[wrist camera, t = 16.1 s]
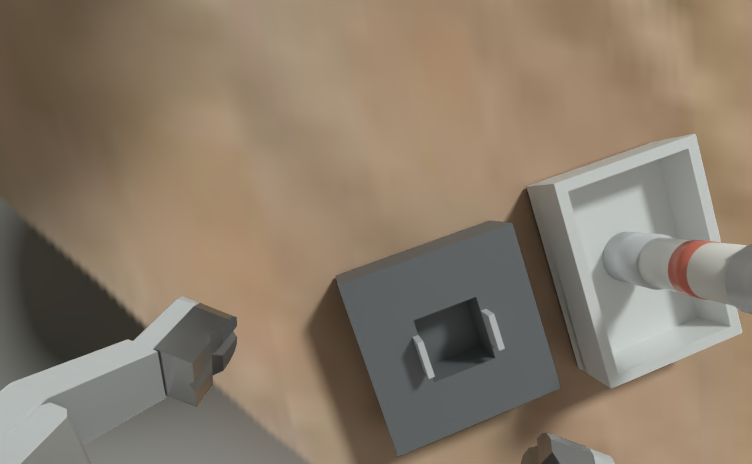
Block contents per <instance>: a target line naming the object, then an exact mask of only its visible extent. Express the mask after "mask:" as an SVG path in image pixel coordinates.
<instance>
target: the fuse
mask: <svg viewBox="0 0 752 464" xmlns="http://www.w3.org/2000/svg"><path fill="white" fill-rule="evenodd" d="M603 264H604V267H605V270H606V271H607V273H608V274H609V275H610V276H611V277H612V278H614V279H616V280H618V281H622V282H626V283H630V284H634V285H638V286H642V287H646V288H650V289H654V290H661V289H666V290H670V291H674V292H678V293H681V294H683V295H687V296H691V297H695V298H699V299H703V300H711V301H715V302H719V303H723V304H728V305H732V306H735V307H736V308H737V309H739V310H740V311H742V312H745V313H749V314H752V244H750V245H737V244H726V243H720V242H714V241H703V240H684V239H674V238H672V237H670V236H668V235H663V234H651V233H639V232H621V233H618V234H616V235H615V236H613V237H612V238H611V239H610V240H609V241H608V243H607V244H606V246H605V249H604V252H603Z"/></svg>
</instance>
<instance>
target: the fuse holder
mask: <svg viewBox="0 0 752 464" xmlns="http://www.w3.org/2000/svg"><path fill="white" fill-rule="evenodd" d="M336 280H337V285H338V288H339V291H340V294H341V297H342V299H343V302H344V305H345V308H346V311H347V314H348V316H349V319H350V322H351V325H352V328H353V331H354V333H355V336H356V339H357V342H358V345H359V348H360V350H361V353H362V356H363V359H364V362H365V365H366V367H367V370H368V373H369V376H370V379H371V382H372V384H373V387H374V390H375V393H376V396H377V399H378V401H379V404H380V407H381V410H382V413H383V416H384V418H385V421H386V424H387V427H388V430H389V433H390V435H391V438H392V441H393V444H394V447H395V450H396V452H397V455H398V457H399V456H401V455H403V454H406V453H408V452H411V451H413V450H415V449H418V448H420V447H422V446H425V445H427V444H430V443H432V442H434V441H437V440H439V439H441V438H444V437H446V436H449V435H451V434H453V433H456V432H458V431H460V430H463V429H465V428H468V427H470V426H472V425H475V424H477V423H480V422H482V421H484V420H487V419H489V418H491V417H494V416H496V415H499V414H501V413H503V412H506V411H508V410H510V409H513V408H515V407H518V406H520V405H522V404H525V403H527V402H530V401H532V400H534V399H537V398H539V397H541V396H544V395H546V394H549V393H551V392H553V391H556V390H558V389H560V388H561V386H560V382H559V379H558V376H557V372H556V369H555V365H554V362H553V359H552V355H551V352H550V349H549V345H548V342H547V338H546V335H545V332H544V328H543V325H542V321H541V318H540V315H539V311H538V308H537V304H536V301H535V298H534V294H533V291H532V288H531V284H530V281H529V277H528V274H527V271H526V267H525V264H524V260H523V257H522V254H521V250H520V247H519V244H518V240H517V237H516V233H515V230H514V227H513V223H510V222H499V221H487V222H484V223H482V224H479V225H476V226H473V227H470V228H468V229H465V230H462V231H459V232H456V233H454V234H451V235H448V236H445V237H443V238H440V239H437V240H434V241H431V242H429V243H426V244H423V245H420V246H417V247H415V248H412V249H409V250H406V251H403V252H401V253H398V254H395V255H392V256H390V257H387V258H384V259H381V260H378V261H376V262H373V263H370V264H367V265H364V266H362V267H359V268H356V269H353V270H350V271H348V272H345V273H342V274H339V275H336Z"/></svg>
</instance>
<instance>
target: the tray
mask: <svg viewBox="0 0 752 464" xmlns="http://www.w3.org/2000/svg"><path fill="white" fill-rule="evenodd" d="M526 187H527V191H528V194H529V198H530V201H531V205H532V208H533V212H534V215H535V219H536V222H537V226H538V229H539V232H540V236H541V239H542V243H543V246H544V250H545V253H546V257H547V260H548V264H549V267H550V271H551V274H552V278H553V281H554V285H555V288H556V291H557V295H558V298H559V302H560V305H561V309H562V312H563V316H564V319H565V323H566V326H567V330H568V333H569V337H570V340H571V344H572V347H573V350H574V354H575V357H576V361H577V364H578V368H579V369H580V370H582V371H584V372H585V373H587V374H588V375H590V376H592V377H593V378H595V379H596V380H598V381H600V382H601V383H603V384H604V385H606V386H607V387H609V388H611V389H612V388H614V387H617V386H619V385H621V384H624V383H626V382H628V381H631V380H633V379H635V378H638V377H640V376H642V375H645V374H647V373H649V372H652V371H654V370H656V369H659V368H661V367H664V366H666V365H668V364H671V363H673V362H675V361H678V360H680V359H682V358H685V357H687V356H689V355H692V354H694V353H696V352H699V351H701V350H703V349H706V348H708V347H710V346H713V345H715V344H717V343H720V342H722V341H724V340H727V339H729V338H731V337H734V336H736V335H738V334H741V333H742V329H741V325H740V320H739V316H738V312H737V308H736V307H735V306H732V305H728V304H723V303H719V302H715V301H711V300H703V299H699V298H695V297H691V296H687V295H683V294H681V293H678V292H674V291H670V290H666V289H661V290H654V289H650V288H646V287H642V286H638V285H634V284H630V283H626V282H622V281H618V280H616V279H614V278H612V277H611V276H610V275H609V274H608V273H607V271H606V270H605V267H604V264H603V252H604V249H605V246H606V244H607V243H608V241H609V240H610V239H611V238H612V237H613V236H615V235H616V234H618V233H621V232H639V233H651V234H663V235H668V236H670V237H672V238H674V239H684V240H703V241H714V242H720V243H721V240H720V235H719V231H718V227H717V223H716V218H715V214H714V210H713V206H712V201H711V197H710V193H709V189H708V185H707V180H706V176H705V172H704V168H703V163H702V159H701V155H700V151H699V146H698V142H697V138H696V134H691V135H686V136H681V137H676V138H671V139H665V140H660V141H655V142H651V143H648V144H646V145H643V146H640V147H637V148H634V149H631V150H628V151H626V152H623V153H620V154H617V155H614V156H611V157H609V158H606V159H603V160H600V161H597V162H594V163H591V164H589V165H586V166H583V167H580V168H577V169H574V170H572V171H569V172H566V173H563V174H560V175H557V176H555V177H552V178H549V179H546V180H543V181H540V182H537V183H535V184H532V185H529V186H526Z"/></svg>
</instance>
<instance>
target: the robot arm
mask: <svg viewBox="0 0 752 464" xmlns="http://www.w3.org/2000/svg"><path fill="white" fill-rule="evenodd" d="M236 326H237V318H236V317H235V316H232V315H229V314H227V313H224V312H222V311H219V310H217V309H214V308H212V307H209V306H207V305H204V304H202V303H199V302H197V301H194V300H191V299H189V298H186V297H181V298H179V299H177V300H175V301H174V302H173V303H172V304H171V305H170V306H169V307H168V308H167V309H166V310H165V311H164V312H163V313H162V314H161V315H160V316H159V317H158V318H157V319H155V320H154V321H153V322H152V323H151V324H150V325H149V326H148V327H147V328H146V329H145V330H144V331H143V332H142V333H141V334H140V335H139V336H138V337H137V338H136V339H135V340H134V341H131V340H128V339H127V340H125V341H122V342H120V343H117V344H114V345H111V346H109V347H106V348H103V349H100V350H98V351H95V352H92V353H90V354H87V355H84V356H82V357H79V358H76V359H74V360H71V361H68V362H66V363H63V364H60V365H57V366H55V367H52V368H49V369H47V370H44V371H41V372H39V373H36V374H33V375H31V376H28V377H26V378H23V379H20V380H17V381H14V382H12V383H10V384H9V385H7V386H6V387H5V388H4V389H2V390H1V391H0V464H91V461H90V459H89V457H88V455H87V452H86V450H85V448H84V445H85V444H87V443H89V442H90V441H92V440H94V439H95V438H97V437H99V436H101V435H102V434H104V433H106V432H108V431H109V430H111V429H113V428H115V427H116V426H118V425H120V424H122V423H123V422H125V421H127V420H128V419H130V418H132V417H134V416H135V415H137V414H139V413H141V412H142V411H144V410H146V409H147V408H149V407H151V406H152V405H154V404H156V403H158V402H160V401H161V400H163V399H165V398H166V396H168V397H171V398H173V399H176V400H179V401H182V402H184V403H187V404H190V405H193V406H195V407H197V406H198V405H199V403H200V402H201V400H202V399H203V398H204V396H205V395H206V394H207V392H208V391H209V390H210V388H211V387H212V385H213V375H215V374H217V373H219V372H221V371H223V370H224V369H225V367H226V366H227V364H228V363H229V362H230V360H231V357H232V355H233V353H234V351H235V348H236V344H237V336H236V335H235V333H234V332H233V330H234V329H235V328H236ZM537 445H538V446H535V447H530V448H528V450H527V451H526V452H525V453H524V455H523V458H522V461H521V464H615V462H614V461H613V459H612V458H611V457H610V456H608V455H606V454H603V453H601V452H598V451H595V450H592V449H589V448H587V447H586V446H583V445H580V444H578V443H575V442H572V441H569V440H566V439H563V438H561V437H558V436H555V435H552V434H549V433H547V432H546V433H542V434H541V435H540V436H539V437H538V438H537Z"/></svg>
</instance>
